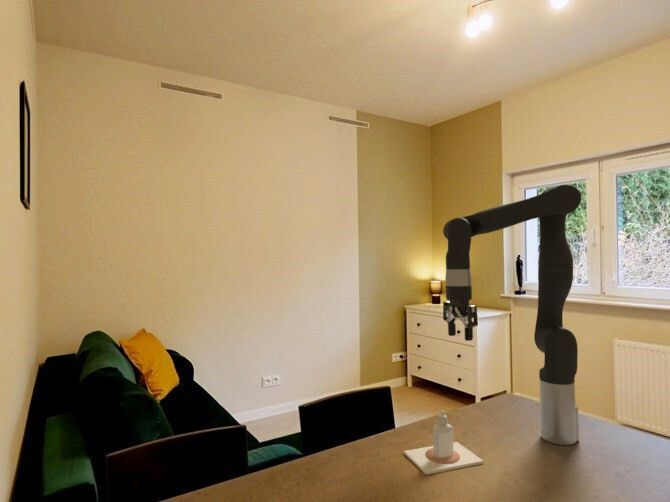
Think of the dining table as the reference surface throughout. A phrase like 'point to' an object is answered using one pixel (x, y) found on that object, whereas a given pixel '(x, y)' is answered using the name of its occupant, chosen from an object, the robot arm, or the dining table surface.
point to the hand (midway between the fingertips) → (460, 337)
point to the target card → (433, 465)
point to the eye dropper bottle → (442, 438)
